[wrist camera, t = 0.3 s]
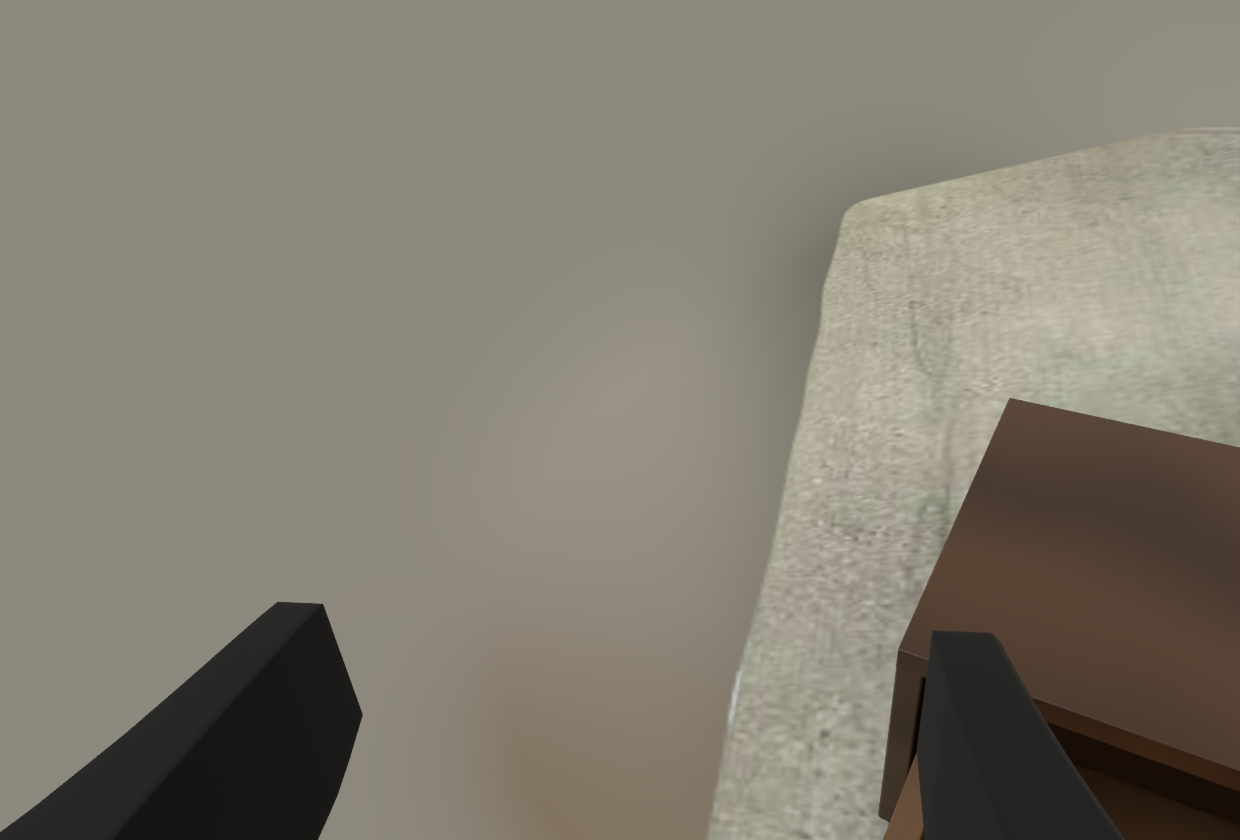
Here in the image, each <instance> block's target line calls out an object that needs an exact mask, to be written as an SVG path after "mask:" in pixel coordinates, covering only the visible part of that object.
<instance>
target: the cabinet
mask: <svg viewBox="0 0 1240 840" xmlns="http://www.w3.org/2000/svg"><path fill="white" fill-rule="evenodd" d="M933 630H938V631H961V632H984V633H992V634H993V635H994V636H995V637H996V638H997V639H998V640H999V641H1000V642H1001V644H1002V646H1003V647H1004V649H1005V651H1006V653H1007V655H1008V657H1009V659H1010V661H1011V662H1012V664H1013V666H1014V668H1015V670H1016V671H1017V673H1018V675H1019V677H1020V678H1021V680H1022V682H1023V684H1024V685H1025V687H1026V689H1027V691H1028V692H1029V694H1030V696H1031V697H1032V699H1033V701H1034V702H1035V704H1036V706H1037V707H1038V709H1039V711H1040V712H1041V714H1042V716H1043V717H1044V719H1045V720H1046V722H1049V723H1051V724H1054V725H1057V726H1060V727H1062V728H1065V729H1068V730H1071V731H1073V732H1076V733H1079V734H1082V735H1084V736H1087V737H1090V738H1093V739H1095V740H1098V741H1101V742H1104V743H1106V744H1109V745H1112V746H1115V747H1117V748H1120V749H1123V750H1126V751H1128V752H1131V753H1134V754H1137V755H1139V756H1142V757H1145V758H1148V759H1150V760H1153V761H1156V762H1159V763H1161V764H1164V765H1167V766H1170V767H1172V768H1175V769H1178V770H1181V771H1183V772H1186V773H1189V774H1192V775H1194V776H1197V777H1200V778H1203V779H1205V780H1208V781H1211V782H1214V783H1216V784H1219V785H1222V786H1225V787H1227V788H1230V789H1233V790H1236V791H1238V792H1240V448H1239V447H1235V446H1230V445H1226V444H1221V443H1216V442H1212V441H1207V440H1202V439H1198V438H1193V437H1188V436H1184V435H1179V434H1175V433H1170V432H1165V431H1161V430H1156V429H1151V428H1147V427H1142V426H1137V425H1133V424H1128V423H1124V422H1119V421H1114V420H1110V419H1105V418H1100V417H1096V416H1091V415H1086V414H1082V413H1077V412H1073V411H1068V410H1063V409H1059V408H1054V407H1049V406H1045V405H1040V404H1035V403H1031V402H1026V401H1022V400H1017V399H1012V398H1010V399H1009V400H1008V403H1007V405H1006V407H1005V409H1004V412H1003V414H1002V416H1001V418H1000V421H999V423H998V425H997V427H996V430H995V432H994V434H993V436H992V439H991V441H990V443H989V446H988V448H987V450H986V452H985V455H984V457H983V459H982V461H981V464H980V466H979V468H978V470H977V473H976V475H975V477H974V479H973V482H972V484H971V486H970V488H969V491H968V493H967V495H966V497H965V500H964V502H963V504H962V506H961V509H960V511H959V513H958V516H957V518H956V520H955V522H954V525H953V527H952V529H951V531H950V534H949V536H948V538H947V540H946V543H945V545H944V547H943V549H942V552H941V554H940V556H939V558H938V561H937V563H936V565H935V567H934V570H933V572H932V574H931V576H930V579H929V581H928V583H927V586H926V588H925V590H924V592H923V595H922V597H921V599H920V601H919V604H918V606H917V608H916V610H915V613H914V615H913V617H912V619H911V622H910V624H909V626H908V628H907V631H906V633H905V635H904V637H903V640H902V642H901V644H900V646H899V649H898V656H897V664H896V666H897V667H896V675H895V683H894V691H893V699H892V707H891V716H890V724H889V732H888V740H887V748H886V756H885V765H884V773H883V781H882V789H881V797H880V805H879V813H878V815H879V817H881V818H883V819H886V820H888V821H891V818H892V815H893V813H894V810H895V808H896V805H897V802H898V800H899V797H900V795H901V792H902V789H903V787H904V784H905V782H906V779H907V776H908V774H909V771H910V769H911V766H912V763H913V761H914V758H915V756H916V753H917V744H918V736H919V729H920V721H921V714H922V706H923V699H924V692H925V684H926V677H927V669H928V662H929V654H930V647H931V639H932V632H933Z"/></svg>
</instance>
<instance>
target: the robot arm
mask: <svg viewBox="0 0 1240 840" xmlns="http://www.w3.org/2000/svg"><path fill="white" fill-rule="evenodd" d="M362 715H363V714H362V711H361V709H360V706H359V703H358V700H357V697H356V695H355V692H354V689H353V686H352V684H351V681H350V678H349V675H348V672H347V670H346V667H345V664H344V661H343V658H342V656H341V653H340V650H339V647H338V644H337V642H336V639H335V636H334V633H333V631H332V628H331V625H330V622H329V619H328V617H327V614H326V611H325V608H324V605H323V604H314V603H291V602H277V603H276V604H274V605H273V606H272V607H271V608H270V609H268V610H267V611H266V612H265V613H264V614H262V615H261V616H260V617H259V618H258V619H256V621H254V622H253V623H252V624H251V625H250V626H248V627H247V628H246V629H245V630H244V631H243V632H241V633H240V634H239V635H238V636H237V637H236V638H235V639H233V640H232V641H231V642H230V643H229V644H228V645H227V646H225V647H224V648H223V649H222V650H221V651H220V652H219V653H218V654H216V655H215V656H214V657H213V658H212V659H211V660H210V661H208V662H207V663H206V664H205V665H204V666H203V667H202V668H201V669H199V670H198V671H197V672H196V673H195V674H194V675H193V676H192V677H190V678H189V679H188V680H187V681H186V682H185V683H184V684H182V685H181V686H180V687H179V688H178V689H177V690H175V691H174V692H173V693H172V694H171V695H170V696H168V697H167V698H166V699H165V700H164V701H163V702H161V703H160V704H159V705H158V706H157V707H156V708H155V709H153V710H152V711H151V712H150V713H149V714H148V715H146V716H145V717H144V718H143V719H142V720H141V721H139V722H138V723H137V724H136V725H135V726H134V727H132V728H131V729H130V730H129V731H128V732H127V733H125V734H124V735H123V736H122V737H121V738H119V739H118V740H117V741H116V742H114V743H113V744H112V745H111V746H109V747H108V748H107V749H106V750H105V751H103V752H102V753H101V754H100V755H98V756H97V757H96V758H95V759H93V760H92V761H91V762H90V763H88V764H87V765H86V766H85V767H83V768H82V769H81V770H80V771H78V772H77V773H76V774H75V775H74V776H72V777H71V778H70V779H68V780H67V781H66V782H65V783H63V784H62V785H61V786H60V787H58V788H57V789H56V790H55V791H54V792H52V793H51V794H50V795H49V796H47V797H46V798H45V799H44V800H42V801H41V802H40V803H39V804H37V805H36V806H35V807H34V808H32V809H31V810H30V811H28V812H27V813H25V814H24V815H23V816H21V817H20V818H19V819H17V820H16V821H15V822H14V823H12V824H11V825H9V826H8V827H7V828H5V829H4V830H3V831H1V832H0V840H318V838H319V836H320V834H321V832H322V829H323V827H324V825H325V823H326V820H327V818H328V816H329V814H330V811H331V809H332V807H333V805H334V802H335V800H336V797H337V795H338V792H339V789H340V786H341V783H342V780H343V777H344V774H345V771H346V768H347V765H348V762H349V759H350V756H351V753H352V749H353V746H354V742H355V739H356V735H357V732H358V729H359V725H360V722H361V719H362ZM917 760H918V772H919V783H920V795H921V805H922V815H923V825H924V836H925V840H1125V839H1124V837H1123V836H1122V835H1121V833H1120V832H1119V830H1118V829H1117V828H1116V826H1115V825H1114V823H1113V822H1112V820H1111V819H1110V817H1109V816H1108V814H1107V813H1106V812H1105V810H1104V809H1103V807H1102V806H1101V804H1100V803H1099V801H1098V800H1097V798H1096V797H1095V795H1094V794H1093V793H1092V791H1091V790H1090V788H1089V787H1088V785H1087V784H1086V782H1085V781H1084V779H1083V778H1082V777H1081V775H1080V774H1079V772H1078V771H1077V769H1076V768H1075V766H1074V765H1073V763H1072V761H1071V760H1070V758H1069V757H1068V755H1067V754H1066V752H1065V751H1064V749H1063V748H1062V746H1061V745H1060V743H1059V741H1058V740H1057V738H1056V737H1055V735H1054V733H1053V732H1052V730H1051V728H1050V727H1049V725H1048V724H1047V722H1046V720H1045V719H1044V717H1043V716H1042V714H1041V712H1040V711H1039V709H1038V707H1037V706H1036V704H1035V702H1034V701H1033V699H1032V697H1031V696H1030V694H1029V692H1028V691H1027V689H1026V687H1025V685H1024V684H1023V682H1022V680H1021V678H1020V677H1019V675H1018V673H1017V671H1016V670H1015V668H1014V666H1013V664H1012V662H1011V661H1010V659H1009V657H1008V655H1007V653H1006V651H1005V649H1004V647H1003V646H1002V644H1001V642H1000V641H999V640H998V639H997V638H996V637H995V636H994V635H993V634H992V633H984V632H961V631H938V630H933V632H932V639H931V647H930V654H929V662H928V669H927V677H926V684H925V692H924V699H923V706H922V714H921V721H920V729H919V736H918V744H917Z"/></svg>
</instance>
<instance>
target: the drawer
mask: <svg viewBox="0 0 1240 840" xmlns="http://www.w3.org/2000/svg"><path fill="white" fill-rule="evenodd" d="M1047 724H1048V725H1049V727H1050V728H1051V730H1052V732H1053V733H1054V735H1055V737H1056V738H1057V740H1058V741H1059V743H1060V745H1061V746H1062V748H1063V749H1064V751H1065V752H1066V754H1067V755H1068V757H1069V758H1070V760H1071V761H1072V763H1073V765H1074V766H1075V768H1076V769H1077V771H1078V772H1079V774H1080V775H1081V777H1082V778H1083V779H1084V781H1085V782H1086V784H1087V785H1088V787H1089V788H1090V790H1091V791H1092V793H1093V794H1094V795H1095V797H1096V798H1097V800H1098V801H1099V803H1100V804H1101V806H1102V807H1103V809H1104V810H1105V812H1106V813H1107V814H1108V816H1109V817H1110V819H1111V820H1112V822H1113V823H1114V825H1115V826H1116V828H1117V829H1118V830H1119V832H1120V833H1121V835H1122V836H1123V837H1124V839H1125V840H1240V792H1238V791H1236V790H1233V789H1230V788H1227V787H1225V786H1222V785H1219V784H1216V783H1214V782H1211V781H1208V780H1205V779H1203V778H1200V777H1197V776H1194V775H1192V774H1189V773H1186V772H1183V771H1181V770H1178V769H1175V768H1172V767H1170V766H1167V765H1164V764H1161V763H1159V762H1156V761H1153V760H1150V759H1148V758H1145V757H1142V756H1139V755H1137V754H1134V753H1131V752H1128V751H1126V750H1123V749H1120V748H1117V747H1115V746H1112V745H1109V744H1106V743H1104V742H1101V741H1098V740H1095V739H1093V738H1090V737H1087V736H1084V735H1082V734H1079V733H1076V732H1073V731H1071V730H1068V729H1065V728H1062V727H1060V726H1057V725H1054V724H1051V723H1049V722H1047ZM883 840H925V836H924V825H923V815H922V805H921V795H920V783H919V772H918V760H917V753H916V756H915V758H914V761H913V763H912V766H911V769H910V771H909V774H908V776H907V779H906V782H905V784H904V787H903V789H902V792H901V795H900V797H899V800H898V802H897V805H896V808H895V810H894V813H893V815H892V818H891V821H890V823H889V826H888V828H887V831H886V834H885V836H884V839H883Z"/></svg>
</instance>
